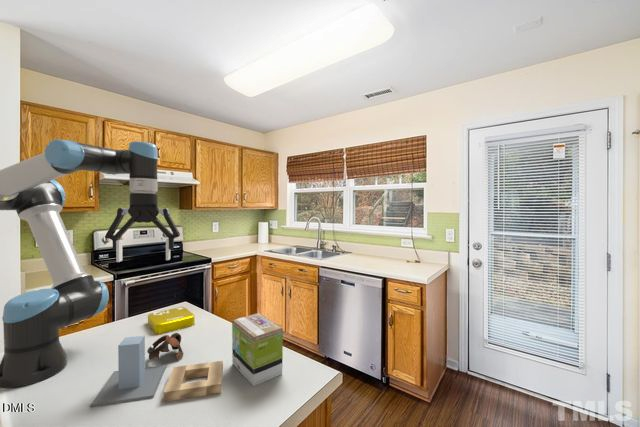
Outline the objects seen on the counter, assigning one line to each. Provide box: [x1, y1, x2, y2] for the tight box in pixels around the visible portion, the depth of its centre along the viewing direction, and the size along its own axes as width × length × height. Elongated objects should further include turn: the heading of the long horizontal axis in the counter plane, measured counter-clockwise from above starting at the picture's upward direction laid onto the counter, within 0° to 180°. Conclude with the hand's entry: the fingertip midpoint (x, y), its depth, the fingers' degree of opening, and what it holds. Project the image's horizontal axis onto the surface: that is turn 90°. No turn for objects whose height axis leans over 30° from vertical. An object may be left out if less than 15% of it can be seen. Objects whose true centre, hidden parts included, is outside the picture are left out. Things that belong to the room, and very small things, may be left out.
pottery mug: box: [146, 332, 184, 361], centre depth 98 cm, size 12×10×8 cm
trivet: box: [89, 364, 167, 408], centre depth 83 cm, size 14×15×1 cm
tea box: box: [231, 312, 284, 387], centre depth 91 cm, size 15×10×15 cm, turn 40°
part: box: [117, 335, 146, 389], centre depth 82 cm, size 5×5×12 cm
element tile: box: [147, 306, 195, 335], centre depth 123 cm, size 15×15×5 cm
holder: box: [163, 360, 224, 402], centre depth 83 cm, size 14×12×2 cm
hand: (144, 260), depth 93 cm, fingers open, 13 cm apart
